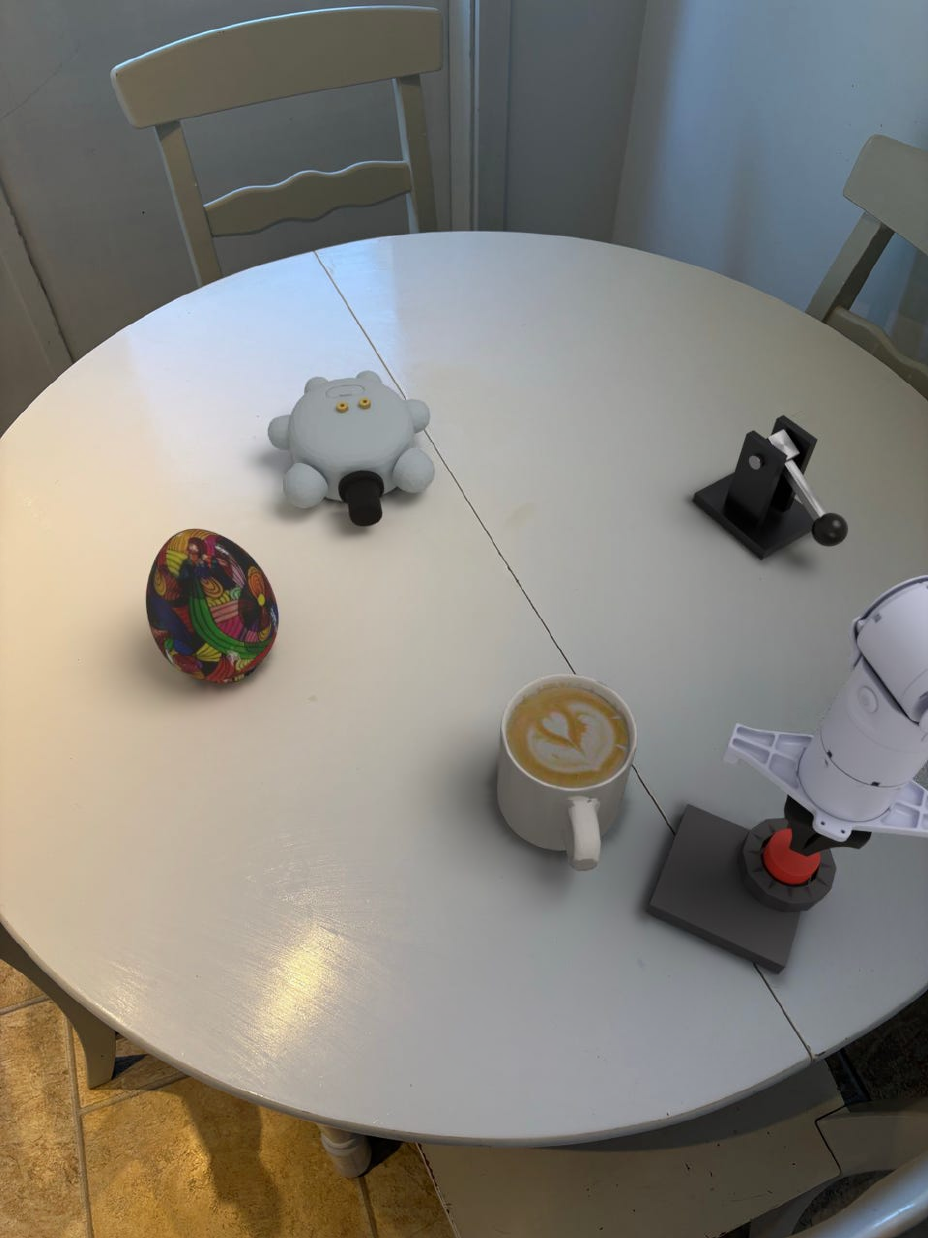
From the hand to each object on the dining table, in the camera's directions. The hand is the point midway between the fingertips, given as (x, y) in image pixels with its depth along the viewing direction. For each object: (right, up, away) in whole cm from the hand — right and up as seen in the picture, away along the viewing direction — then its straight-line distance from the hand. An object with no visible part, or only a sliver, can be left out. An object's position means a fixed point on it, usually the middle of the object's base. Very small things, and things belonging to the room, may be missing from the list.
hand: (801, 841), depth 62 cm
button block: (-4, -5, +5) cm, 8 cm away
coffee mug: (-16, 0, +9) cm, 18 cm away
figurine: (-35, +31, +33) cm, 58 cm away
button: (0, -2, +3) cm, 3 cm away
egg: (-45, +12, +19) cm, 50 cm away
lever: (+8, +27, +23) cm, 37 cm away
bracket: (+6, +26, +29) cm, 40 cm away
